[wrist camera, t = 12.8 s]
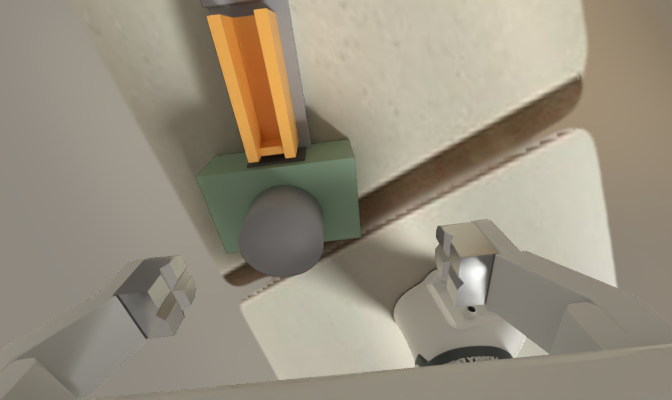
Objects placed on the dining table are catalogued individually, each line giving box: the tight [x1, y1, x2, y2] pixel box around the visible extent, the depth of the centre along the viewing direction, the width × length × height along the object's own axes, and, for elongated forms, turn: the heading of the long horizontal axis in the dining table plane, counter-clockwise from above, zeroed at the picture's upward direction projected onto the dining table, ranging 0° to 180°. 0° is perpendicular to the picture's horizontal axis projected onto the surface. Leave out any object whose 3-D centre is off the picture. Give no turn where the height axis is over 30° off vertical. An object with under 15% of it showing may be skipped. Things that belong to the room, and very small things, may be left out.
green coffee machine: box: [196, 0, 361, 277], centre depth 27 cm, size 16×25×11 cm, turn 6°
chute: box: [206, 8, 299, 163], centre depth 26 cm, size 5×12×5 cm, turn 6°
